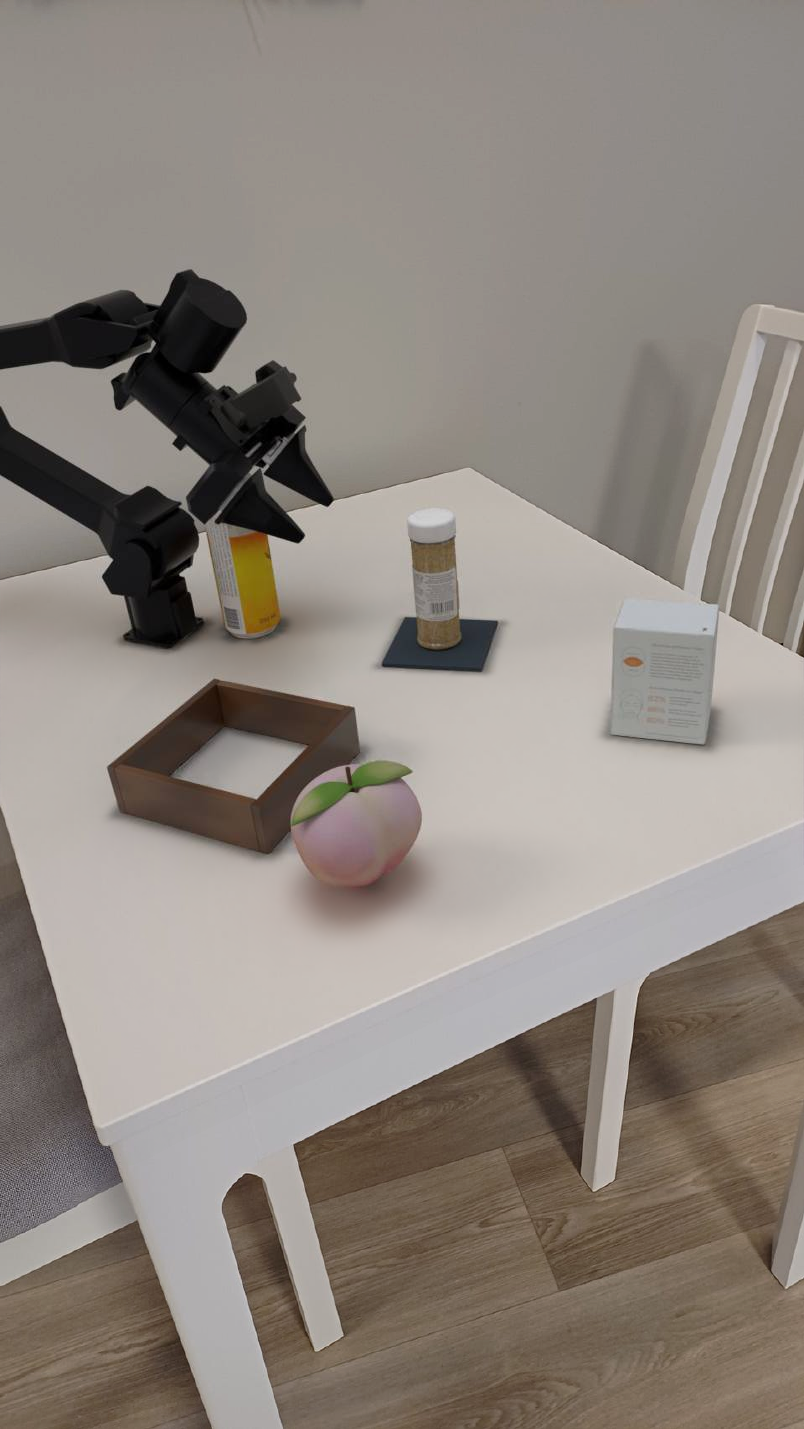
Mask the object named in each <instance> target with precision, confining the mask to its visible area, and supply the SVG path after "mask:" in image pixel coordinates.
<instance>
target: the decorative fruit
mask: <svg viewBox="0 0 804 1429" xmlns="http://www.w3.org/2000/svg"><path fill="white" fill-rule="evenodd" d="M413 772H414V771H413V770H412V769H411V768H410V767H408V766H407V765H404V764H402V763H399V762H395V761H390V760H374V761H371V762H366V763H364V764H359V763H352V764H348V765H344V766H339V767H336V768H333V769H331V770H329V771H326V772H324V773H323V774H321V775H320V776H318V777H316V778H315V779H314V780H313V781H311V782H310V783H309V784H308V785H307V786H306V787H305V788H304V789H303V790H302V792H301V793H300V795H299V796H298V798H297V800H296V802H295V804H294V807H293V810H292V813H291V829H290V832H291V837H292V840H293V843H294V845H295V848H296V850H297V852H298V855H299V857H300V860H302V862H303V864H304V866H305V867H306V869H307V870H308V871H309V872H310V873H311V875H312V876H314V877H315V878H316V879H318V880H319V881H320V882H323V883H325V884H327V885H330V886H334V887H338V888H339V887H340V888H361V887H365V886H368V885H371V884H373V883H374V882H375V881H377V880H378V879H379V878H380V877H381V876H383V875H385V874H388V873H390V872H392V871H393V870H394V869H395V868H396V867H398V866H399V865H400V864H401V862H403V860H404V859H405V858H406V856H407V855H408V854H409V852H410V850H411V849H412V848H413V846H414V844H415V842H416V840H417V839H418V836H419V834H420V831H421V827H422V822H423V813H422V807H421V805H420V802H419V800H418V797H417V796H416V794H415V792H414V791H413V789H412V788H411V786H410V785H409V784H408V783H407V782H406V781H405V780H404V779H403V778H404V777H406V776H409V775H410V774H413Z"/></svg>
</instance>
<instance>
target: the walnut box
mask: <svg viewBox="0 0 804 1429" xmlns="http://www.w3.org/2000/svg"><path fill="white" fill-rule="evenodd" d="M223 727H229V728H234V729H236V730H237V729H238V730H243V731H247V732H251V733H255V734H260V735H264V736H268V737H271V738H272V737H273V738H278V739H281V740H286V741H290V742H294V743H298V744H299V743H300V744H304V745H307V747H305V749H304V750H302V751H301V753H300V754H299V755H298V756H297V757H296V758H295V759H294V760H293V761H292V762H291V763H289V765H288V766H287V767H286V768H285V769H284V770H283V771H282V773H280V774H279V776H278V777H276V778H275V780H274V781H273V782H272V783H271V784H270V785H269V786H268V787H267V788H266V789H265V790H264V791H263V792H262V793H261V794H260V795H259V796H258V797H257V798H254V797H250V796H246V795H242V794H238V793H235V792H231V791H227V790H223V789H220V788H215V787H212V786H208V785H203V784H200V783H196V782H192V781H189V780H185V779H181V778H176V777H174V776H170V775H171V774H172V773H174V772H175V771H176V770H177V769H178V768H179V767H180V766H181V765H182V764H184V763H185V761H187V760H188V759H189V758H191V756H192V755H193V754H195V753H196V752H197V751H198V750H199V749H200V748H201V747H203V746H204V745H205V744H206V743H207V742H208V741H209V740H210V739H212V738H213V737H214V736H215V735H216V734H217V733H218V732H219V731H220V730H222V729H223ZM360 752H361V746H360V740H359V730H358V721H357V714H356V707H355V706H350V705H345V704H341V703H336V702H331V701H325V700H321V699H317V698H312V697H306V696H301V695H297V694H291V693H287V692H281V691H278V690H277V691H276V690H272V689H267V688H261V687H257V686H252V685H248V684H242V683H238V682H233V681H227V680H222V679H218V678H213V679H212V680H210V681H209V682H208V683H207V684H206V685H205V686H203V687H201V689H200V690H198V691H197V692H196V693H194V694H193V695H192V696H191V697H190V698H188V699H187V700H186V701H185V702H183V703H182V704H181V705H180V706H179V707H178V708H176V709H175V710H174V711H173V712H172V713H170V714H169V715H168V716H166V718H164V719H162V721H161V722H160V723H158V724H157V725H156V726H155V727H153V728H152V729H151V730H150V731H148V732H147V733H146V734H145V735H144V736H143V737H141V738H140V739H139V740H137V741H136V742H135V743H134V744H133V745H132V746H130V747H129V748H127V750H125V751H124V752H123V753H122V754H121V755H120V756H118V757H117V758H116V759H114V760H113V761H112V762H111V763H109V764H108V765H107V766H106V769H107V774H108V777H109V780H110V784H111V787H112V790H113V793H114V797H115V801H116V805H117V807H118V811H119V812H121V813H124V814H127V815H130V816H134V817H138V818H141V819H143V820H144V819H145V820H148V821H151V822H155V823H157V824H162V825H166V826H169V827H173V828H176V829H180V830H183V831H186V832H191V833H193V834H196V835H200V836H204V837H207V838H211V839H214V840H217V841H221V842H225V843H229V844H232V845H236V846H238V847H243V848H246V849H250V850H253V851H257V852H261V853H264V854H268V855H269V854H270V853H271V852H272V851H273V849H274V848H275V847H276V846H277V845H278V844H279V843H280V842H281V841H282V840H283V838H285V836H286V835H287V834H288V833H289V832H290V831H291V813H292V810H293V807H294V804H295V802H296V800H297V798H298V796H299V795H300V793H301V792H302V790H303V789H304V788H305V787H306V786H307V785H308V784H309V783H310V782H311V781H313V780H314V779H315V778H316V777H318V776H320V775H321V774H323V773H324V772H326V771H329V770H331V769H333V768H336V767H339V766H344V765H350V763H351V762H352V760H353V759H355V757H356V756H357V755H358V754H359V753H360Z"/></svg>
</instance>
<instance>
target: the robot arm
mask: <svg viewBox="0 0 804 1429" xmlns="http://www.w3.org/2000/svg"><path fill="white" fill-rule="evenodd" d="M247 321H248V315H247V312H246V309H245V307H244V305H243V303H242V301H240V299H239V298H238V297H237V296H236V295H235V293H233V292H232V291H231V290H230V289H225V288H224V287H223V286H221V285H220V284H218V283H216V282H214V281H213V280H209V279H207V278H202V277H200V276H199V275H198V274H197V273H196V272H195V271H194V270H193V269H192V268H190V269H185V270H182V271H178V272H176V274H175V275H174V276H173V278H172V280H171V282H170V284H169V289H168V291H167V293H166V295H165V297H164V298H163V300H162V301H161V303H160V304H154V303H149V302H144V301H143V300H142V299H140V298H139V296H137V295H136V293H135V292H134V291H131V290H128V289H119V290H115V291H113V292H110V293H105V294H103V295H100V296H96V297H93V298H90V299H87V300H83V301H81V302H78V303H77V302H76V303H74V304H73V305H71V306H69V307H67V308H63V309H62V310H60V311H58V312H56V313H54V314H52V315H50V316H48V317H43V318H36V319H31V320H26V321H19V322H15V323H10V324H9V323H8V324H4V325H3V324H2V325H0V370H9V369H13V368H19V367H27V366H33V365H39V364H47V363H64V364H65V365H67V366H70V367H72V368H77V369H78V368H79V369H80V368H81V369H92V370H105V369H106V368H109V367H112V366H114V365H117V364H119V363H121V362H124V361H126V360H128V359H131V358H133V357H135V356H136V357H135V358H134V360H133V362H132V363H131V365H130V367H129V368H128V370H127V372H121V373H118V375H116V376H115V377H113V378H111V380H110V384H111V387H112V391H113V403H114V408H115V409H116V410H117V411H122V410H124V409H125V408H127V407H128V406H130V405H131V404H132V403H134V402H135V401H136V402H137V403H139V405H141V406H142V407H143V408H144V409H145V410H147V411H148V412H149V413H150V414H151V415H152V416H153V417H154V418H155V419H157V420H158V421H159V422H160V423H161V424H162V425H163V426H164V427H166V428H167V429H168V430H169V431H170V432H171V433H172V434H174V435H175V436H176V437H175V438H174V440H173V441H172V443H171V445H172V446H174V448H176V449H177V450H178V451H179V452H182V451H183V450H184V449H186V448H187V447H188V448H189V449H190V450H192V451H193V452H194V453H195V454H196V455H197V456H198V457H199V458H200V459H202V460H203V461H204V462H205V463H206V464H207V465H208V467H207V469H205V471H204V473H203V474H202V475H201V476H200V478H198V480H197V482H196V483H195V484H194V485H193V487H192V488H191V489H190V491H189V492H188V493H187V495H186V496H185V501H186V505H187V510H188V511H186V510H185V509H183V508H182V507H181V506H182V505H183V502H182V501H178V500H174V499H172V498H170V497H168V496H166V495H165V494H163V493H162V492H161V491H159V490H158V489H157V488H155V487H153V486H151V485H146V486H144V487H142V488H140V489H139V490H137V491H135V492H134V493H132V494H126V493H123V492H121V491H119V490H117V489H116V488H114V487H113V486H111V485H109V484H107V483H106V482H104V481H102V480H101V479H99V478H98V477H96V476H94V475H92V474H91V473H89V472H87V471H86V470H84V469H82V468H81V467H79V466H77V465H76V464H75V463H72V462H71V461H69V460H67V459H66V458H64V457H62V456H60V455H58V454H57V453H56V452H54V451H52V450H50V449H49V448H47V447H45V446H44V445H43V444H40V443H38V442H37V441H35V440H34V439H32V438H30V437H29V436H27V435H26V434H23V433H22V432H20V431H18V430H17V429H15V428H14V427H13V426H12V425H11V423H10V421H9V419H8V417H7V414H6V413H5V411H4V408H3V406H1V405H0V477H3V478H4V479H5V480H7V481H9V482H10V483H12V484H14V485H16V486H17V487H19V488H21V489H22V490H24V491H25V492H27V493H28V494H30V495H32V496H33V497H35V498H37V499H38V500H40V501H42V502H44V503H46V504H47V505H49V506H50V507H52V508H54V509H55V510H57V511H59V512H60V513H62V514H63V515H65V516H67V517H68V518H70V519H72V520H73V521H75V522H77V523H79V524H80V525H82V526H83V527H85V528H87V529H89V530H90V531H92V532H93V533H95V534H96V535H97V536H98V538H99V540H100V542H101V545H102V546H103V548H104V550H105V551H106V553H107V555H108V557H109V558H110V559H111V560H112V561H111V562H110V563H109V565H108V567H107V568H106V569H105V571H104V572H103V573H102V575H101V578H102V580H103V582H104V585H105V586H106V588H107V590H108V591H109V593H110V594H111V595H113V596H119V597H120V596H121V597H123V598H124V602H125V606H126V610H127V615H128V619H129V622H130V626H131V629H129V630H128V631H127V632H124V634H122V639H123V640H124V641H128V642H132V643H138V644H142V645H148V646H152V647H158V648H162V649H163V648H164V649H171V648H173V647H174V646H175V645H177V644H178V643H180V642H181V641H182V640H185V638H186V637H187V636H189V635H191V634H192V633H193V632H194V631H196V630H197V629H199V628H200V627H201V626H202V625H204V624H205V618H203V617H200V616H196V613H195V607H194V602H193V599H192V593H191V592H190V591H189V590H188V585H187V581H186V577H185V576H182V575H180V574H182V573H183V572H184V571H185V570H187V569H190V568H191V567H193V564H194V558H195V557H194V556H195V553H196V552H197V551H198V548H199V546H200V535H199V530H198V528H197V527H196V525H195V522H196V521H195V519H194V518H193V516H194V517H195V518H196V519H197V520H198V521H200V522H201V523H202V524H203V525H204V526H205V524H206V523H207V522H208V521H209V520H210V519H211V518H212V517H213V516H214V515H215V514H216V513H217V512H218V511H219V510H220V511H222V512H221V514H220V515H219V516H218V517H217V519H216V520H215V521H214V523H216V524H217V525H220V524H221V523H224V524H229V525H233V526H237V527H241V528H245V529H250V530H253V531H257V532H261V533H264V534H267V535H268V536H271V537H273V538H277V539H281V540H284V541H287V542H290V543H294V544H300V543H301V542H302V541H303V540H304V539H305V537H306V534H305V532H304V531H303V530H302V528H301V527H300V526H299V525H298V524H297V523H296V521H295V520H294V519H293V518H292V517H291V516H290V515H289V514H288V513H287V511H285V510H284V509H283V507H282V506H281V505H280V504H279V503H278V502H277V501H276V500H275V499H274V498H273V497H272V495H270V494H269V492H268V491H267V489H266V486H265V480H264V476H265V477H267V478H269V479H270V480H272V481H274V482H276V483H277V484H281V485H282V486H284V487H286V488H288V489H290V490H292V491H294V492H296V493H297V494H299V495H301V496H303V497H304V498H306V499H309V500H311V501H312V502H314V503H317V504H319V505H321V506H324V507H325V508H328V507H330V506H331V505H332V503H333V502H334V501H335V497H334V496H333V494H332V492H331V491H330V489H329V488H328V486H327V485H326V483H325V481H324V480H323V477H322V475H320V473H319V472H318V469H317V468H316V466H315V464H314V463H313V461H312V460H311V458H310V456H309V454H308V452H307V449H306V432H307V426H306V425H305V424H303V422H305V420H306V419H307V417H306V416H305V415H304V414H303V413H302V412H301V411H300V410H299V409H297V408H296V407H295V406H294V404H295V403H296V402H297V403H298V402H300V401H302V397H301V395H300V394H299V392H298V390H297V388H296V387H295V386H296V385H295V383H296V382H297V379H298V378H297V375H296V374H295V372H290V371H289V369H288V367H287V366H286V365H285V366H283V365H281V364H279V362H277V361H275V360H274V359H272V360H270V361H269V362H267V363H265V364H263V365H262V366H260V367H259V368H258V369H255V373H254V374H255V382H256V383H253V384H251V385H250V386H249V387H248V388H246V389H244V390H242V391H241V392H239V393H238V392H237V390H235V389H233V387H232V386H230V385H225V384H223V385H222V386H221V387H219V388H218V389H217V388H216V387H215V386H213V384H212V383H210V382H209V381H208V380H207V379H206V378H205V377H204V376H203V375H202V374H210V373H213V372H214V371H215V370H216V368H217V367H218V365H219V364H220V363H221V361H222V360H223V358H224V357H225V355H226V354H227V352H228V351H229V349H230V348H231V346H232V345H233V343H234V342H235V340H236V339H237V337H238V336H239V335H240V333H241V331H242V330H243V328H244V327H245V326H246V324H247ZM153 342H154V345H153V347H152V343H153ZM151 348H152V349H151ZM150 349H151V351H149V350H150ZM148 351H149V352H148ZM302 424H303V425H302ZM301 425H302V427H301ZM299 427H300V428H299ZM298 429H299V430H298ZM297 430H298V431H297ZM266 466H268V467H267V468H266V470H265V471H264V472H263V470H262V469H264V468H265V467H266ZM254 467H258V468H257V470H255V472H254V473H253V474H251V473H250V472H251V471H252V470H253V469H254Z"/></svg>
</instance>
